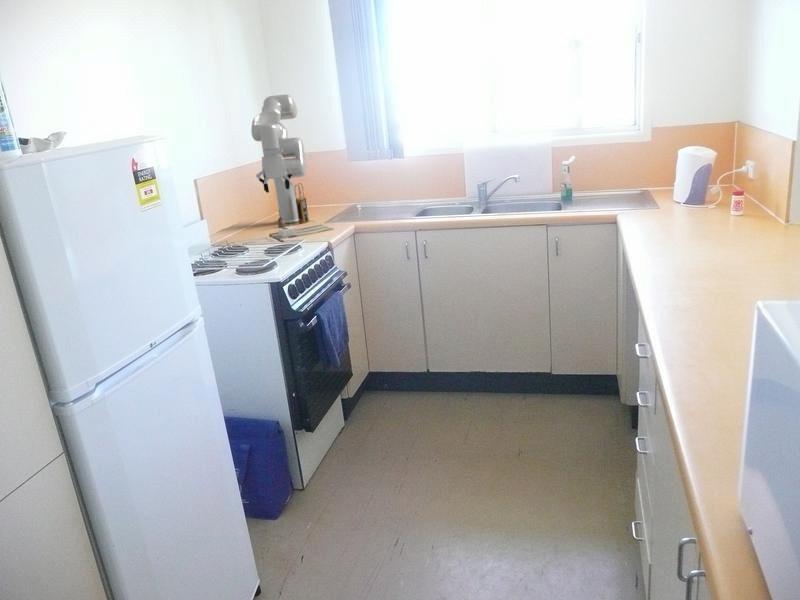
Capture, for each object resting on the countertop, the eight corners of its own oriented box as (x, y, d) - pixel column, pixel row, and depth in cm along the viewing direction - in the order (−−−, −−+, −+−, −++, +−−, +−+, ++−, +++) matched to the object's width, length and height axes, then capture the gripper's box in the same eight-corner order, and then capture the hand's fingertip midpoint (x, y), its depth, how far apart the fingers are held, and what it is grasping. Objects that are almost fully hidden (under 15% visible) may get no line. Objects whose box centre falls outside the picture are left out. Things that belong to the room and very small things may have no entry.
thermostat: (278, 235, 303) (277, 228, 302) (291, 232, 306) (290, 226, 305) (283, 237, 298) (282, 230, 297) (296, 234, 301) (295, 227, 300)
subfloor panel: (269, 236, 308) (269, 233, 308) (321, 226, 319) (321, 224, 319) (281, 242, 293) (281, 239, 293) (335, 231, 304) (335, 229, 304)
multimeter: (315, 225, 323) (310, 184, 317) (296, 227, 326) (290, 186, 320) (325, 219, 337) (319, 180, 331) (306, 221, 339) (301, 181, 333)
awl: (278, 232, 309) (275, 209, 306) (284, 231, 311) (281, 208, 307) (280, 233, 307) (277, 210, 304) (286, 232, 308) (283, 209, 305)
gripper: (287, 149, 305) (292, 187, 311) (250, 154, 298) (256, 192, 303) (292, 150, 299) (298, 188, 304) (255, 155, 292) (261, 194, 297)
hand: (277, 190), depth 304 cm, fingers open, 9 cm apart
